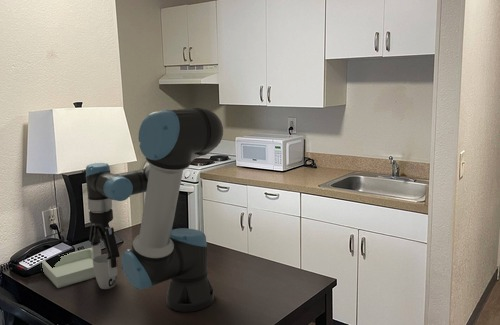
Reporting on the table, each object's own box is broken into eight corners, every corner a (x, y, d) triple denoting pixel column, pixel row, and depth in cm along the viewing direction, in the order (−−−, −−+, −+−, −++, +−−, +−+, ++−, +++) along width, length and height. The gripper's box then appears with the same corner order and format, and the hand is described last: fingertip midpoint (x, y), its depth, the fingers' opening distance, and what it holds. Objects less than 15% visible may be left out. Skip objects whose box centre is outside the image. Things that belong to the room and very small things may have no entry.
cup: (112, 292, 153) (110, 263, 151) (90, 290, 154) (87, 262, 152) (123, 281, 160) (121, 254, 158) (102, 279, 162) (100, 253, 160)
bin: (111, 272, 168) (111, 262, 167) (57, 288, 156) (56, 277, 155) (92, 257, 183) (91, 247, 182) (41, 270, 171) (40, 260, 170)
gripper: (127, 216, 145) (131, 278, 149) (97, 199, 164) (101, 254, 168) (104, 221, 140) (109, 285, 145) (76, 203, 159) (81, 260, 164)
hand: (105, 269), depth 156 cm, fingers open, 13 cm apart
